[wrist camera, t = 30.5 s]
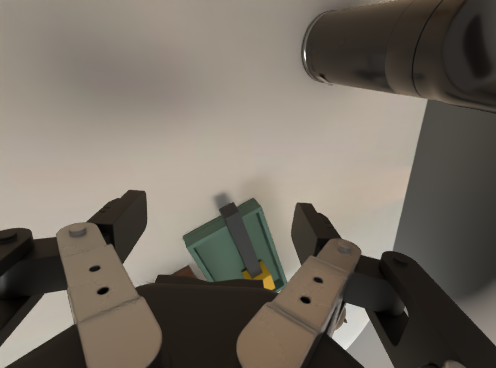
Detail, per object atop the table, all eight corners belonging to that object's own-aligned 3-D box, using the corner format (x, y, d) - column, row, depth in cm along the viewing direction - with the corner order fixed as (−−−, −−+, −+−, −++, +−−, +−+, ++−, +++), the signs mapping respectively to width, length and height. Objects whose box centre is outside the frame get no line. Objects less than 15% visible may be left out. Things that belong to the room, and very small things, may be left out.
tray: (182, 236, 42) (186, 247, 40) (253, 197, 45) (261, 206, 42) (228, 308, 55) (233, 320, 53) (281, 275, 58) (288, 285, 55)
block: (212, 212, 38) (221, 228, 35) (239, 198, 39) (249, 212, 36) (248, 285, 53) (256, 300, 51) (266, 274, 54) (275, 288, 52)
